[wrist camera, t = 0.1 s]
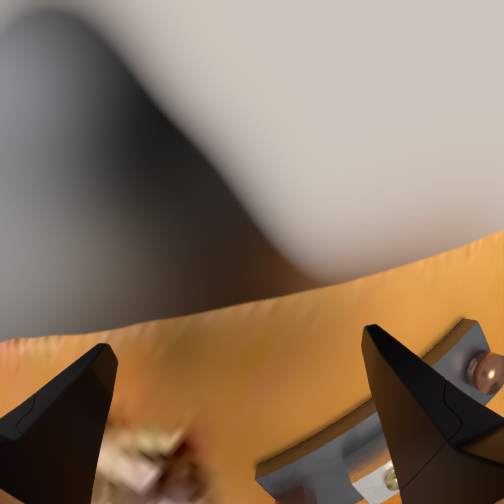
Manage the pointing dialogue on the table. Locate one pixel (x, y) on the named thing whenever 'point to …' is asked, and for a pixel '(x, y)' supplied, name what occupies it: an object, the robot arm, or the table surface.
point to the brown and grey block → (372, 471)
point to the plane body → (375, 425)
